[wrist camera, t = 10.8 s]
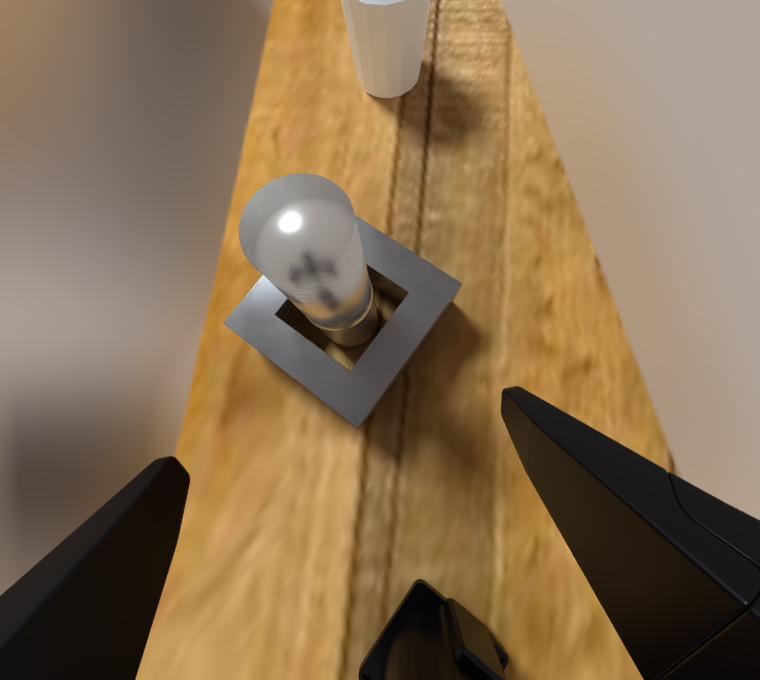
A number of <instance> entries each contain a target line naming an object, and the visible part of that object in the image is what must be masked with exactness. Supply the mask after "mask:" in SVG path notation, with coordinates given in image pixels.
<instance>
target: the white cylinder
mask: <svg viewBox="0 0 760 680" xmlns="http://www.w3.org/2000/svg"><path fill="white" fill-rule="evenodd" d="M430 1H431V0H341V3H342V8H343V12H344V17H345V21H346V26H347V31H348V35H349V40H350V45H351V49H352V54H353V59H354V63H355V68H356V73H357V77H358V82H359V85H360V86H361V87H362V88H363V89H364V91H365V92H367V93H369V94H371V95H373V96H375V97H379V98H393V97H398V96H401V95H403V94H405V93H406V92H408V91H409V90H411V89H412V88H413V86H414V85H415V84H416V82H417V81H418V78H419V73H420V68H421V61H422V54H423V48H424V41H425V34H426V28H427V21H428V14H429V8H430Z"/></svg>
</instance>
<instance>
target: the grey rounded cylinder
mask: <svg viewBox="0 0 760 680" xmlns="http://www.w3.org/2000/svg"><path fill="white" fill-rule="evenodd" d="M239 239H240V244H241V247H242V250H243V252H244V254H245V256H246V257H247V259H248V260H249V261H250V262H251V264H252V265H253V266H254V267H255V268H256V269H257V270H259V271H260V272H261V273H262V274H263V275H264V276H265V277H266V278H267V279H268V280H269V281H270V282H271V283H272V284H273V285H274V286H275V287H276V288H277V289H278V290H279V291H281V292H282V293H283V294H284V295H285V296H286V297H287V298H288V299H289V300H290V301H291V302H292V303H293V304H294V305H295V306H296V307H297V308H298V309H299V310H300V311H302V312H303V313H304V314H305V316H306V317H307V318H308V319H309V320H310V321H311V322H312V323H313V324H314V325H315V326H316V327H318V328H319V329H320V330H321V331H322V332H324V333H325V334H326V335H327V336H328V337H329V338H330V339H331V340H332V341H333V342H335V343H337V344H339V345H342V346H356V345H359V344H362V343H364V342H365V341H367V340H368V339H369V338H370V337H371V336H372V335H373V333H374V332H375V330H376V327H377V323H378V313H377V309H376V305H375V300H374V293H373V288H372V284H371V281H370V279H369V275H368V271H367V266H366V262H365V258H364V253H363V249H362V245H361V241H360V236H359V232H358V228H357V223H356V219H355V215H354V211H353V207H352V204H351V202H350V200H349V198H348V196H347V195H346V194H345V192H344V191H343V190H342V189H341V188H340V187H339V186H338V185H336V184H335V183H334V182H332V181H330V180H329V179H327V178H324V177H322V176H319V175H314V174H307V173H297V174H290V175H286V176H282V177H279V178H277V179H275V180H273V181H270V182H269V183H267V184H266V185H264V186H263V187H262V188H260V189H259V190H258V191H257V192H256V193H255V194H254V195H253V196H252V197H251V199H250V200H249V201H248V203H247V205H246V206H245V208H244V210H243V213H242V215H241V219H240V224H239Z"/></svg>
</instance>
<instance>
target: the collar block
mask: <svg viewBox="0 0 760 680" xmlns="http://www.w3.org/2000/svg"><path fill="white" fill-rule="evenodd" d="M355 219H356V223H357V228H358V232H359V236H360V241H361V245H362V249H363V253H364V258H365V262H366V266H367V271H368V275H369V279H370V281H371V284H372V285H373V286H375V287H376V288H378V289H379V290H381V291H382V292H384V293H385V294H386V295H388V296H389V297H391V298H392V299H394V300H395V301H397V302H398V303H400V305H399V307H398V308H397V309H396V311H395V312H394V313H393V315H392V316H391V317H390V319H389V320H388V321H387V323H386V324H385V325H384V327H383V328H382V329H381V331H380V332H379V333H378V335H377V336H376V337H375V339H374V340H373V341H372V343H371V344H370V345H369V347H368V348H367V349H366V351H365V352H364V354H363V355H362V356H361V358H360V359H359V360H358V362H357V363H356V364H355V366H354V367H353V368H352V370H351V371H350V370H349V369H347V368H346V367H345V366H343V365H342V364H341V363H339V362H338V361H337V360H335V359H334V358H333V357H331V356H330V355H328V354H327V353H326V352H324V351H323V350H322V349H320V348H319V347H318V346H316V345H315V344H314V343H312V342H311V341H310V340H308V339H307V338H306V337H304V336H303V335H302V334H300V333H299V332H298V331H296V330H295V329H294V328H293V326H294V325H295V324H296V323H297V321H298V320H299V319H300V318H301V316H302V315H303V314H304V313H303V312H302V311H300V310H299V309H298V308H297V307H296V306H295V305H294V304H293V303H292V302H291V301H290V300H289V299H288V298H287V297H286V296H285V295H284V294H283V293H282V292H281V291H279V290H278V289H277V288H276V287H275V286H274V285H273V284H272V283H271V282H270V281H269V280H268V279H267V278H266V277H265V276H264V275H263V276H262V277H261V278H260V279H259V280H258V282H257V283H256V284H255V285H254V286H253V288H252V289H251V290H250V291H249V292H248V294H247V295H246V296H245V297H244V298H243V300H242V301H241V302H240V303H239V304H238V306H237V307H236V308H235V309H234V310H233V312H232V313H231V314H230V315H229V316H228V318H227V319H226V320H225V321H224V322H223V324H225V325H226V326H227V327H229V328H230V329H231V330H232V331H234V332H235V333H236V334H237V335H239V336H240V337H241V338H243V339H244V340H245V341H246V342H248V343H249V344H250V345H252V346H253V347H254V348H255V349H257V350H258V351H259V352H260V353H262V354H263V355H264V356H266V357H267V358H268V359H269V360H271V361H272V362H273V363H275V364H276V365H277V366H278V367H280V368H281V369H282V370H284V371H285V372H286V373H287V374H289V375H290V376H291V377H292V378H294V379H295V380H296V381H298V382H299V383H300V384H301V385H303V386H304V387H305V388H307V389H308V390H309V391H310V392H312V393H313V394H314V395H316V396H317V397H318V398H319V399H321V400H322V401H323V402H324V403H326V404H327V405H328V406H330V407H331V408H332V409H333V410H335V411H336V412H337V413H339V414H340V415H341V416H342V417H344V418H345V419H346V420H348V421H349V422H350V423H351V424H353V425H354V426H355V427H356V428H359V427H361V426H363V425H364V424H365V423H366V421H367V420H368V419H369V417H370V416H371V414H372V413H373V412H374V410H375V409H376V407H377V406H378V405H379V403H380V402H381V400H382V399H383V398H384V396H385V395H386V394H387V392H388V391H389V389H390V388H391V387H392V385H393V384H394V382H395V381H396V380H397V378H398V377H399V376H400V374H401V373H402V371H403V370H404V369H405V367H406V366H407V364H408V363H409V362H410V360H411V359H412V357H413V356H414V355H415V353H416V352H417V351H418V349H419V348H420V346H421V345H422V344H423V342H424V341H425V339H426V338H427V337H428V335H429V334H430V332H431V331H432V330H433V328H434V327H435V326H436V324H437V323H438V321H439V320H440V319H441V317H442V316H443V314H444V313H445V312H446V310H447V309H448V308H449V306H450V305H451V303H452V302H453V300H454V298H455V296H456V295H457V293H458V291H459V289H460V287H461V285H462V283H460V282H459V281H457V280H456V279H454V278H453V277H451V276H449V275H448V274H446V273H445V272H443V271H442V270H440V269H438V268H437V267H435V266H434V265H432V264H431V263H429V262H428V261H426V260H424V259H423V258H421V257H420V256H418V255H417V254H415V253H413V252H412V251H410V250H409V249H407V248H406V247H404V246H402V245H401V244H399V243H398V242H396V241H395V240H393V239H392V238H390V237H388V236H387V235H385V234H384V233H382V232H381V231H379V230H377V229H376V228H374V227H373V226H371V225H370V224H368V223H366V222H365V221H363V220H362V219H360V218H359V217H357V216H355Z"/></svg>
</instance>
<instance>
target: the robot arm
mask: <svg viewBox="0 0 760 680" xmlns="http://www.w3.org/2000/svg"><path fill="white" fill-rule="evenodd" d="M501 415H502V418H503V421H504V423H505V425H506V427H507V430H508V432H509V434H510V437H511V439H512V441H513V444H514V446H515V448H516V451H517V453H518V455H519V457H520V460H521V462H522V464H523V466H524V469H525V471H526V473H527V474H528V476H529V478H530V480H531V482H532V484H533V485H534V487H535V489H536V491H537V492H538V494H539V496H540V498H541V499H542V501H543V503H544V505H545V506H546V508H547V510H548V512H549V514H550V515H551V517H552V519H553V521H554V522H555V524H556V526H557V528H558V529H559V531H560V533H561V535H562V536H563V538H564V540H565V542H566V543H567V545H568V547H569V549H570V550H571V552H572V554H573V556H574V558H575V559H576V561H577V563H578V565H579V566H580V568H581V570H582V572H583V573H584V575H585V577H586V579H587V580H588V582H589V584H590V586H591V587H592V589H593V591H594V593H595V595H596V596H597V598H598V600H599V602H600V603H601V605H602V607H603V609H604V610H605V612H606V614H607V616H608V617H609V619H610V621H611V623H612V624H613V626H614V628H615V630H616V631H617V633H618V635H619V637H620V639H621V640H622V642H623V644H624V646H625V647H626V649H627V651H628V653H629V654H630V656H631V658H632V660H633V661H634V663H635V665H636V667H637V668H638V670H639V672H640V674H641V675H642V677H643V679H644V680H760V520H758V519H756V518H754V517H752V516H750V515H748V514H746V513H744V512H743V511H740V510H738V509H737V508H735V507H733V506H731V505H729V504H727V503H725V502H723V501H721V500H720V499H718V498H716V497H714V496H712V495H711V494H709V493H707V492H705V491H703V490H701V489H700V488H698V487H696V486H694V485H692V484H690V483H689V482H687V481H685V480H683V479H682V478H680V477H678V476H676V475H675V474H673V473H671V472H668V473H667V471H666V470H665V469H664V468H662V467H660V466H659V465H657V464H655V463H653V462H652V461H650V460H648V459H646V458H645V457H643V456H641V455H639V454H637V453H636V452H634V451H632V450H630V449H629V448H627V447H625V446H623V445H622V444H620V443H618V442H616V441H615V440H613V439H611V438H609V437H608V436H606V435H604V434H602V433H601V432H599V431H597V430H595V429H593V428H592V427H590V426H588V425H586V424H585V423H583V422H581V421H579V420H578V419H576V418H574V417H572V416H571V415H569V414H567V413H565V412H564V411H562V410H560V409H558V408H557V407H555V406H553V405H551V404H550V403H548V402H546V401H544V400H542V399H541V398H539V397H537V396H535V395H534V394H532V393H530V392H528V391H527V390H525V389H523V388H521V387H519V386H514V387H509V388H505V389H503V391H502V400H501ZM189 485H190V476H189V473H188V472H187V471H186V469H185V468H184V467H183V466H182V465H181V463H180V462H179V461H178V460H177V458H175V457H173V456H168V457H163V458H159V459H156V460H154V461H153V462H152V463H151V464H150V465H148V466H147V467H146V468H145V469H144V470H143V471H142V472H140V473H139V474H138V475H137V476H136V477H135V478H134V479H133V480H131V481H130V482H129V483H128V484H127V485H126V486H125V487H123V488H122V489H121V490H120V491H119V492H118V493H117V494H116V495H114V496H113V497H112V498H111V499H110V500H109V501H108V502H106V503H105V504H104V505H103V506H102V507H101V508H100V509H98V510H97V511H96V512H95V513H94V514H93V515H92V516H91V517H89V518H88V519H87V520H86V521H85V522H84V523H83V524H81V525H80V526H79V527H78V528H77V529H76V530H75V531H73V532H72V533H71V534H70V535H69V536H68V537H67V538H66V539H64V540H63V541H62V542H61V543H60V544H59V545H58V546H57V547H55V548H54V549H53V550H52V551H51V552H50V553H49V554H47V555H46V556H45V557H44V558H43V559H42V560H41V561H40V562H38V563H37V564H36V565H35V566H34V567H33V568H32V569H30V570H29V571H28V572H27V573H26V574H25V575H24V576H22V578H20V579H19V580H18V581H17V582H16V583H15V584H13V585H12V586H11V587H10V588H9V589H8V590H7V591H5V592H4V593H3V594H2V595H1V596H0V680H135V679H136V676H137V673H138V669H139V666H140V663H141V659H142V656H143V653H144V650H145V646H146V643H147V640H148V637H149V633H150V630H151V627H152V624H153V620H154V617H155V614H156V611H157V607H158V604H159V601H160V598H161V594H162V591H163V588H164V585H165V581H166V578H167V575H168V572H169V568H170V565H171V562H172V559H173V555H174V552H175V548H176V545H177V541H178V537H179V533H180V528H181V523H182V519H183V514H184V509H185V504H186V499H187V494H188V489H189ZM420 587H422V588H424V592H423V593H419V592H418V591H417V589H418V588H420ZM497 654H501V657H500V658H498V655H497ZM507 664H508V657H507V654H506V652H505V650H504V648H503V647H502V646H501V645H500V644H499V643H498V642H496V641H495V640H494V639H493V638H492V637H491V636H490V635H489V632H488V630H487V627H486V626H485V625H484V624H482V623H481V622H480V621H479V620H478V619H476V618H475V617H474V616H473V615H472V614H470V613H469V612H468V611H467V610H466V609H465V608H463V607H462V606H461V605H460V604H459V603H457V602H456V601H455V600H454V599H452V598H448V599H446V598H444V597H443V596H442V595H441V594H440V593H439V592H437V591H436V590H435V589H434V588H433V587H431V586H430V585H429V584H428V583H427V582H426V581H424V580H422V579H418V580H416V581H415V582H414V583H413V585H412V586H411V588H410V589H409V591H408V593H407V594H406V596H405V597H404V599H403V600H402V602H401V603H400V605H399V606H398V608H397V610H396V611H395V613H394V614H393V616H392V617H391V619H390V620H389V622H388V623H387V625H386V627H385V628H384V630H383V631H382V633H381V634H380V636H379V637H378V639H377V640H376V642H375V644H374V645H373V647H372V648H371V650H370V651H369V653H368V654H367V656H366V657H365V659H364V661H363V662H362V664H361V666H360V669H359V680H507V678H506V676H505V673H504V670H505V668H506V666H507ZM365 671H368V672H370V675H369V676H367V675H365V674H364V672H365Z"/></svg>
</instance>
